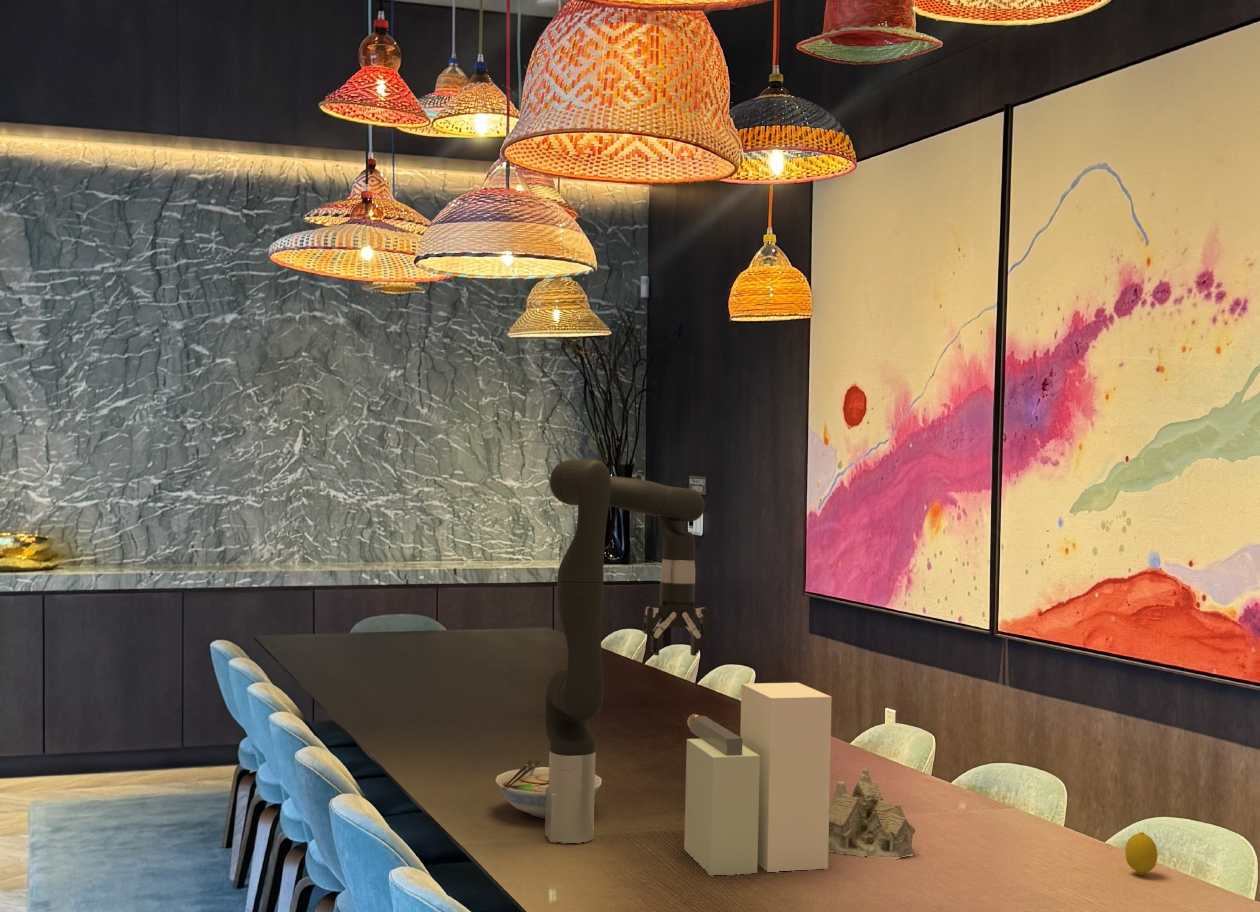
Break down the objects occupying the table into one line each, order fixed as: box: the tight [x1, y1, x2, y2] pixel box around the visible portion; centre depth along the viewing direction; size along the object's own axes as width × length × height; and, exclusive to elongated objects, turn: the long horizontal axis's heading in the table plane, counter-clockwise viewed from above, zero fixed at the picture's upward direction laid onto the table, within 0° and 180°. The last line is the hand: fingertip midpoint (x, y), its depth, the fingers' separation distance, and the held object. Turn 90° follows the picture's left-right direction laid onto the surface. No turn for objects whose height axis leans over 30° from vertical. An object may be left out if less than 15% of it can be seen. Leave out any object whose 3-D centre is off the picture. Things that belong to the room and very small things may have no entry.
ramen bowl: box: [494, 759, 602, 819], centre depth 264 cm, size 25×23×8 cm
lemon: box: [1124, 831, 1158, 876], centre depth 232 cm, size 6×6×8 cm
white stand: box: [739, 682, 833, 873], centre depth 237 cm, size 12×16×32 cm
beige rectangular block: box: [683, 738, 760, 877], centre depth 234 cm, size 9×16×22 cm, turn 15°
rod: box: [686, 713, 742, 756], centre depth 239 cm, size 3×24×3 cm, turn 15°
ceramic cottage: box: [828, 768, 916, 857], centre depth 244 cm, size 16×16×15 cm
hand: (674, 655), depth 270 cm, fingers open, 8 cm apart
